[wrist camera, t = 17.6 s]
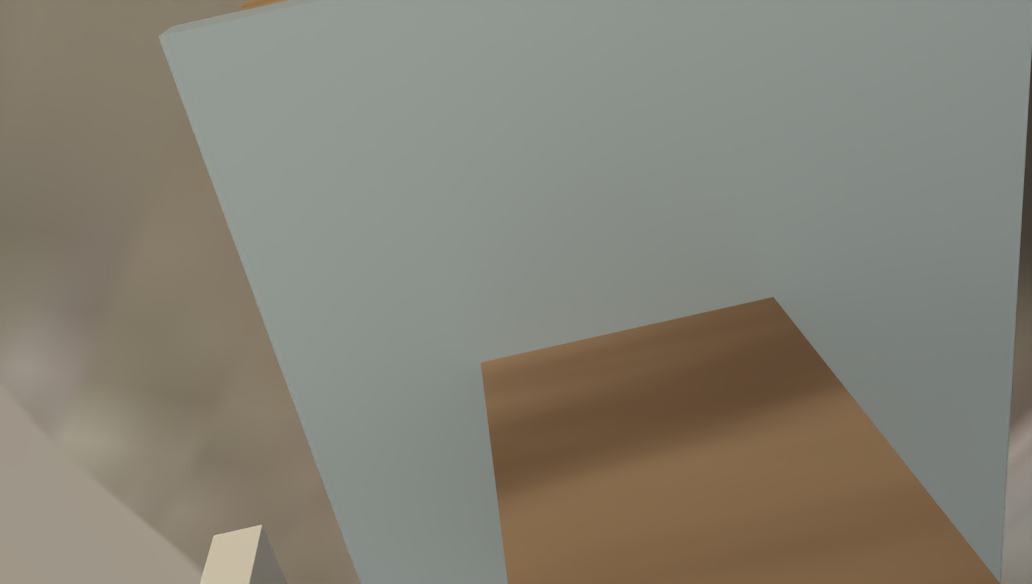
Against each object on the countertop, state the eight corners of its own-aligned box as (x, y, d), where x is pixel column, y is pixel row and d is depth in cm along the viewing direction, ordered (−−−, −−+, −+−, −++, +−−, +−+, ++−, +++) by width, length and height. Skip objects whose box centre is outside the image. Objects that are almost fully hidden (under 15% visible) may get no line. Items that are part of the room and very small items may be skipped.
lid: (172, 26, 13) (158, 36, 12) (1010, -160, 13) (1043, -160, 12) (438, 763, 21) (439, 797, 20) (975, 645, 21) (994, 673, 20)
